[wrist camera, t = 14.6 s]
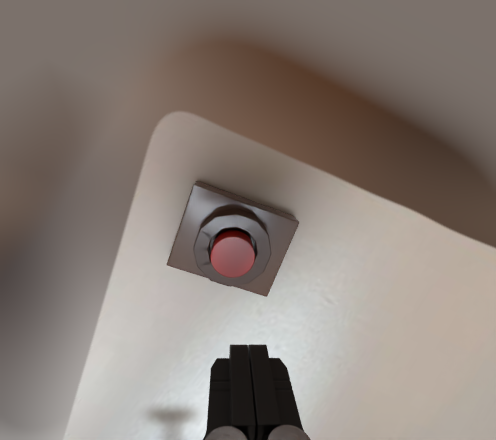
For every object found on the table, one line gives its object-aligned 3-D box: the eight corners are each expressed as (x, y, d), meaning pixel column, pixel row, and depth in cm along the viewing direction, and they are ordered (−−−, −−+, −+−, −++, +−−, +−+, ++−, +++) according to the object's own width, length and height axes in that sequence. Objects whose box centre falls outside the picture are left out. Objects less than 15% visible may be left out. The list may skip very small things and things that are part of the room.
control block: (171, 256, 29) (161, 274, 26) (196, 180, 28) (191, 187, 24) (264, 286, 31) (269, 307, 27) (294, 216, 29) (304, 228, 25)
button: (206, 261, 26) (204, 270, 24) (219, 224, 25) (219, 230, 23) (244, 274, 26) (245, 283, 25) (259, 237, 26) (261, 244, 24)
